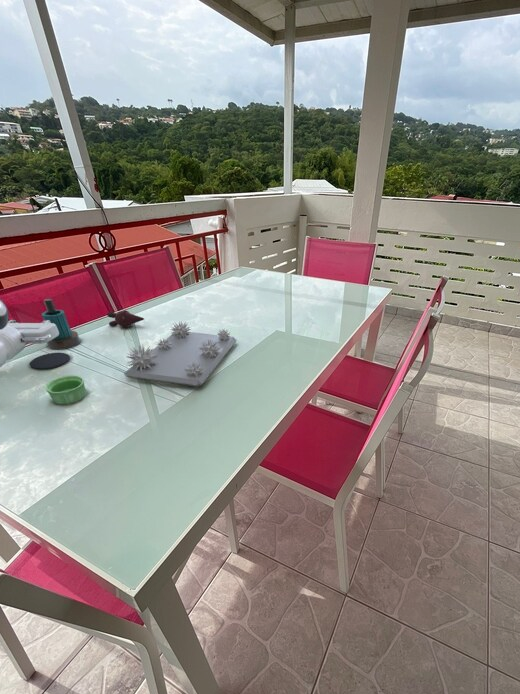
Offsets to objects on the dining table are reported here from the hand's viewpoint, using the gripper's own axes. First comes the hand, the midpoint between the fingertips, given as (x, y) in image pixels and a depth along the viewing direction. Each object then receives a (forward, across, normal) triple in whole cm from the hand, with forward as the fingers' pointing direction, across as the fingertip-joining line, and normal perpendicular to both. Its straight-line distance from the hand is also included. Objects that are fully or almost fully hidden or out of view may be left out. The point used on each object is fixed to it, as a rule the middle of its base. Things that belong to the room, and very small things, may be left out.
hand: (31, 322), depth 102 cm
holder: (+12, 0, +13) cm, 18 cm away
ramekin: (-23, -17, +13) cm, 31 cm away
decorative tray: (-1, -45, +13) cm, 47 cm away
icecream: (+28, -17, +13) cm, 35 cm away
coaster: (-2, -2, +13) cm, 13 cm away
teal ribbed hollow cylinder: (+12, 0, +10) cm, 16 cm away
